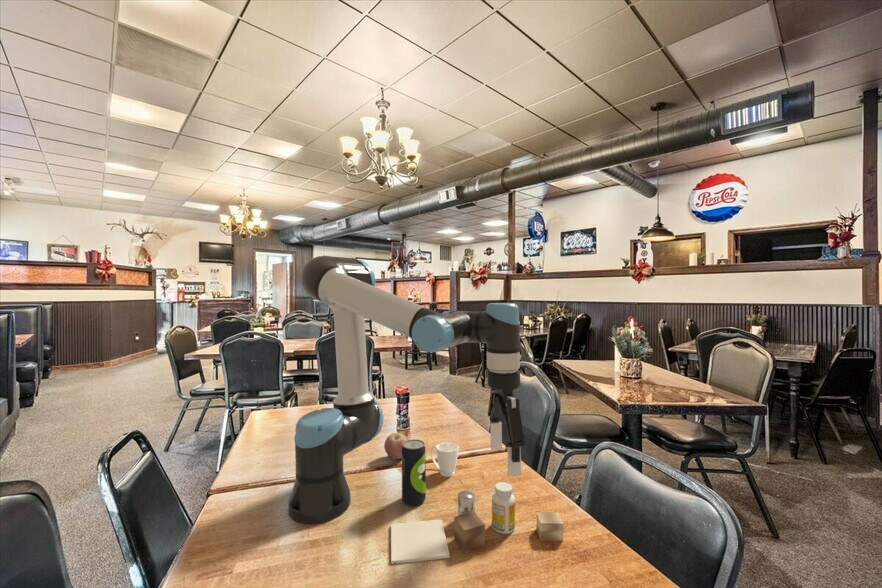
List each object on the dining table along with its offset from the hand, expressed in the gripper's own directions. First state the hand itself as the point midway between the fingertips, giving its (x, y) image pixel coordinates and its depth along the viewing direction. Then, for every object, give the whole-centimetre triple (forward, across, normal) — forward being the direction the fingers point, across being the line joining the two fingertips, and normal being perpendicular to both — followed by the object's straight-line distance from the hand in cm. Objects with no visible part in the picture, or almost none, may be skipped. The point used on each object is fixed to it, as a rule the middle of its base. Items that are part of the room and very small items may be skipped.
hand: (504, 461), depth 87 cm
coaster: (+15, -2, +20) cm, 26 cm away
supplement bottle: (+16, 0, 0) cm, 16 cm away
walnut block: (+16, -4, +9) cm, 19 cm away
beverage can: (+16, +14, +20) cm, 29 cm away
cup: (+16, +28, +10) cm, 34 cm away
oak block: (+16, -4, -9) cm, 19 cm away
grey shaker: (+16, +4, +8) cm, 18 cm away
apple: (+15, +39, +24) cm, 49 cm away
